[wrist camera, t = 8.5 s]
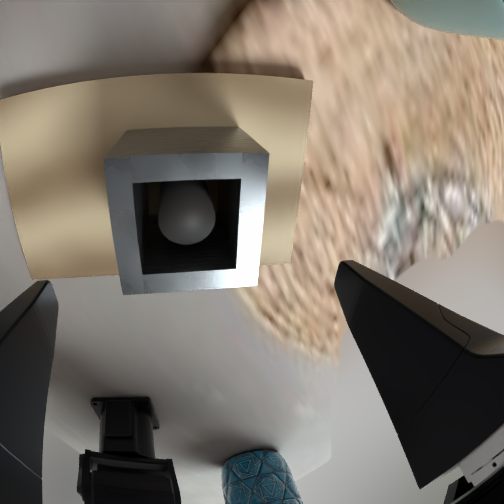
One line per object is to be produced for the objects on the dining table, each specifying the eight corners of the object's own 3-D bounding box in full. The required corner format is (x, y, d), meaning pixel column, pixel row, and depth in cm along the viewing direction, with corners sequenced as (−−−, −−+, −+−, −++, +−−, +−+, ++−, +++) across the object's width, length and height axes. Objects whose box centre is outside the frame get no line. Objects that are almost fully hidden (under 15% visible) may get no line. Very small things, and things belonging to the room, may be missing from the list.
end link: (233, 225, 19) (257, 285, 14) (134, 230, 18) (123, 294, 13) (238, 126, 16) (269, 153, 11) (126, 129, 15) (103, 158, 10)
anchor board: (284, 253, 23) (317, 310, 18) (37, 269, 19) (8, 330, 14) (304, 79, 17) (359, 87, 12) (6, 98, 13) (-53, 116, 8)
